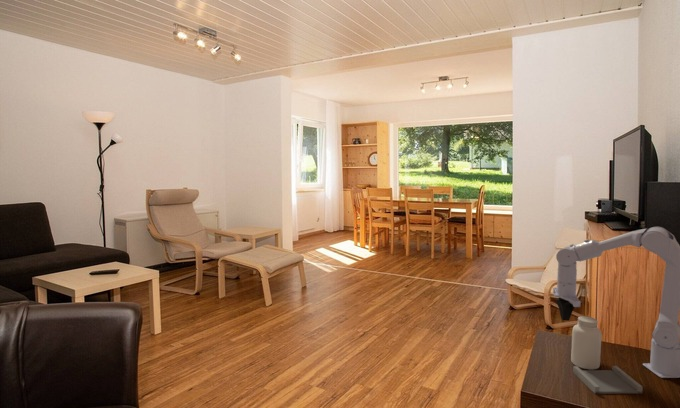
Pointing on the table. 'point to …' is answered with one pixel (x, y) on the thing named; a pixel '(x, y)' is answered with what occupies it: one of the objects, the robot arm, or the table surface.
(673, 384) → the table surface
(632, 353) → the table surface
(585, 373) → the grey tray
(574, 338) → the pill bottle
